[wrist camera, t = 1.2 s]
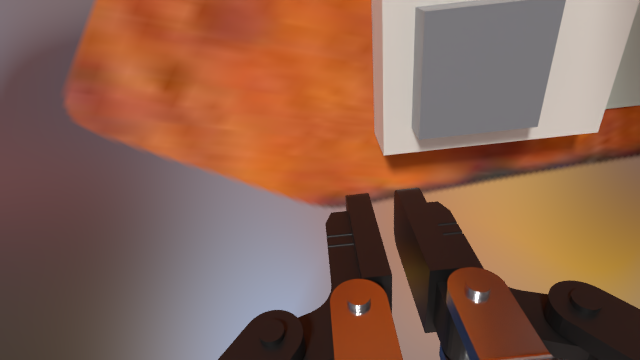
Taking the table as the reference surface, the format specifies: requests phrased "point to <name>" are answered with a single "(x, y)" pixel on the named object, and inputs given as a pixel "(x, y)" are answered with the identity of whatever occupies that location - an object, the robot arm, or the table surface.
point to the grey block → (482, 65)
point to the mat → (628, 71)
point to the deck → (562, 88)
